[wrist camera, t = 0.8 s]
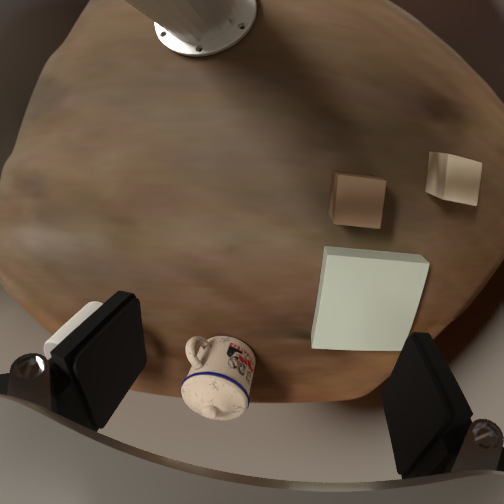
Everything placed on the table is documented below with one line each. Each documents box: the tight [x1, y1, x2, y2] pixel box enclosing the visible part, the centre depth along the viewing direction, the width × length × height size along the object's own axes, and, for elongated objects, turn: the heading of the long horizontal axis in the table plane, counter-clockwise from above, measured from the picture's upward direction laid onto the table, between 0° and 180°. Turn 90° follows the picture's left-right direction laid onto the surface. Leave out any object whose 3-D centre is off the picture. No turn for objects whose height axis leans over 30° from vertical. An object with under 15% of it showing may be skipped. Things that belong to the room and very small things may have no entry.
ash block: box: [425, 152, 482, 206], centre depth 27 cm, size 5×5×5 cm
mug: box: [44, 301, 103, 360], centre depth 38 cm, size 8×12×12 cm
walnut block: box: [328, 171, 386, 229], centre depth 30 cm, size 5×5×5 cm
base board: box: [311, 246, 430, 351], centre depth 35 cm, size 13×13×3 cm
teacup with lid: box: [181, 336, 255, 420], centre depth 37 cm, size 12×9×12 cm
